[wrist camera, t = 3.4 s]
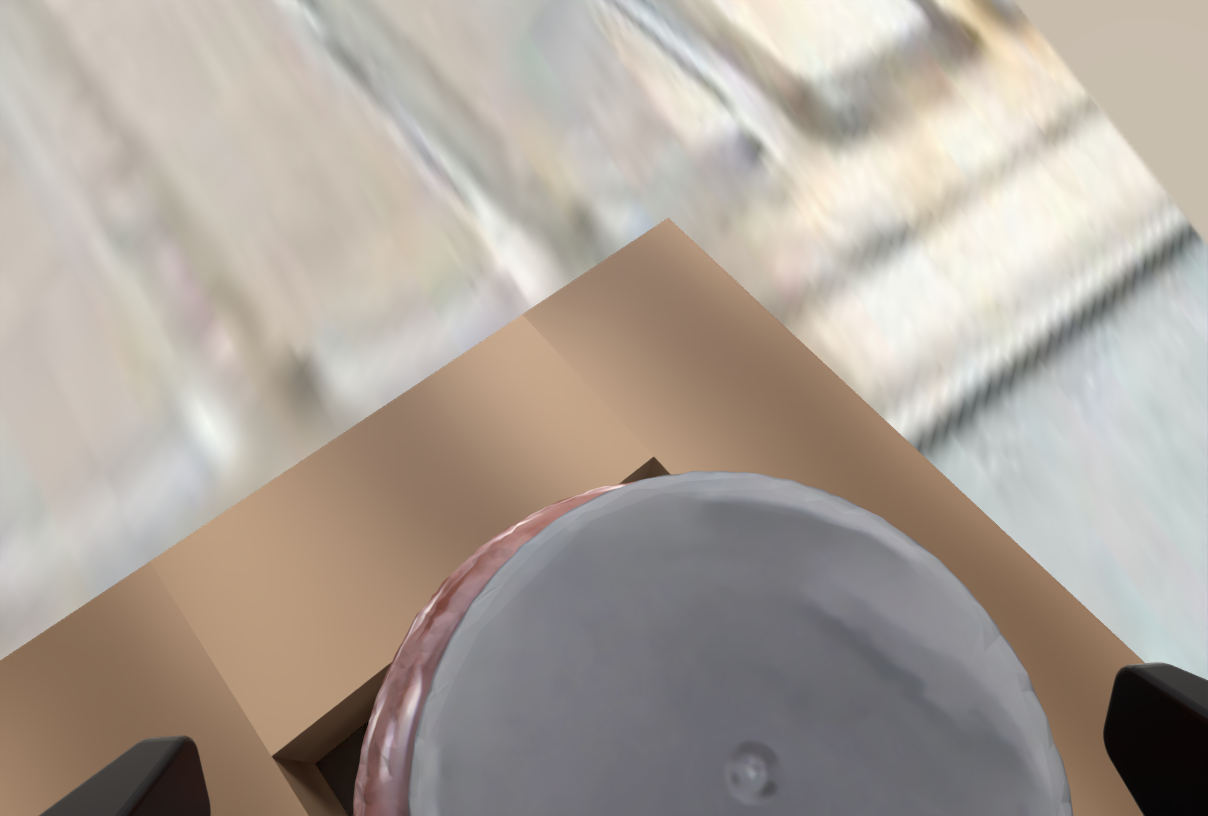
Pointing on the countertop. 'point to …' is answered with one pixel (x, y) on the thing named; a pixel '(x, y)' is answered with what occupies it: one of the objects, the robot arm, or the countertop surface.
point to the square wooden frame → (486, 508)
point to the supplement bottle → (707, 670)
